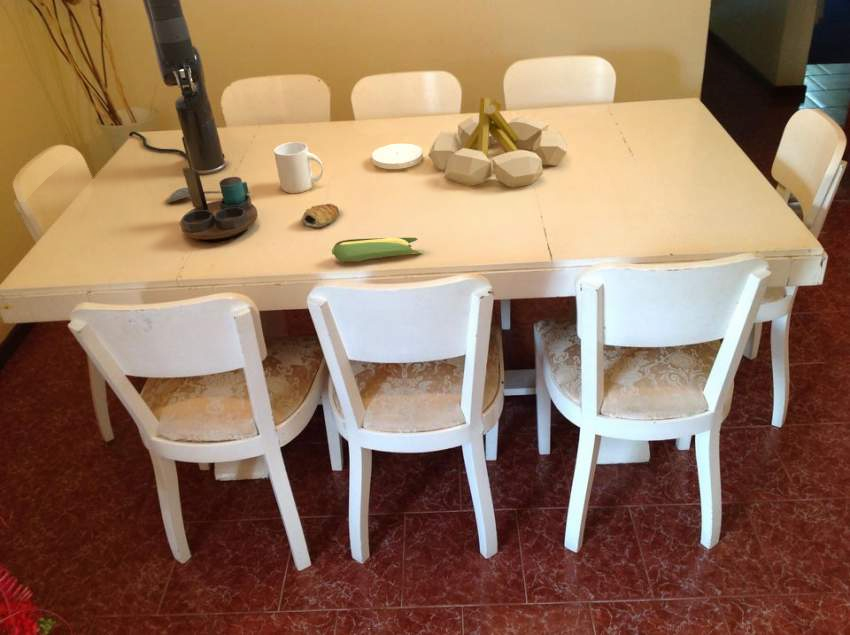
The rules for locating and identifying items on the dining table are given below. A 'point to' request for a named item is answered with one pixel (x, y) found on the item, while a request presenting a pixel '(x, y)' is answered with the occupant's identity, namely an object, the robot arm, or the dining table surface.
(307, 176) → the mug
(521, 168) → the campfire
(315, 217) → the pastry
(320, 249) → the dining table surface
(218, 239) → the carousel base
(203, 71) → the robot arm
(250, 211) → the cup holder
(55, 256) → the dining table surface
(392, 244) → the edible corn
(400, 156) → the plastic lid
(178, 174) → the dining table surface
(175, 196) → the soupspoon
